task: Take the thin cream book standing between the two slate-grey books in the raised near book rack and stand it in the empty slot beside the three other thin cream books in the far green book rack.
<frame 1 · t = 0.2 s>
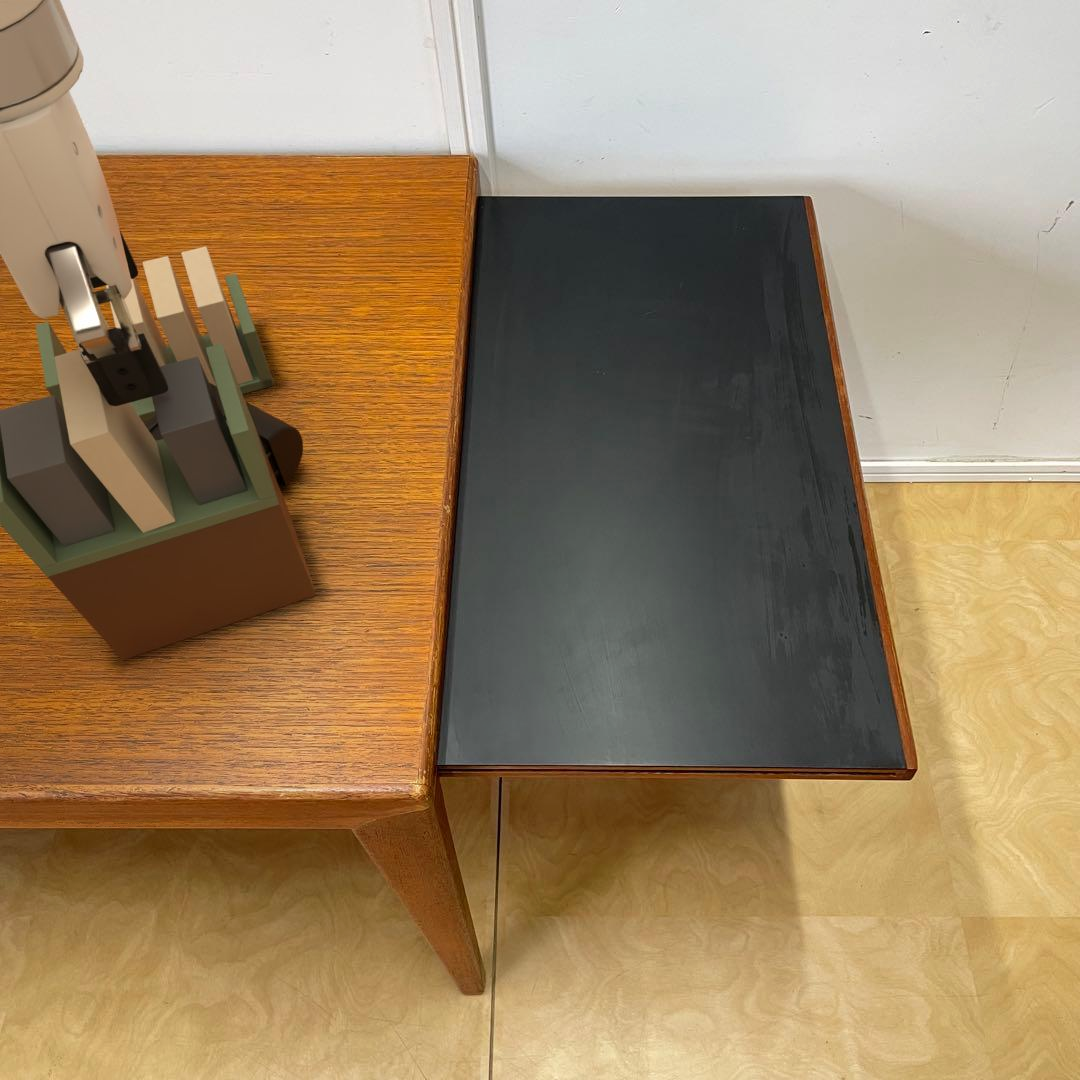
hand: (125, 335, 53), 21 cm above the table, tool pointing down, fingers open, 9 cm apart
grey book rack: (211, 587, 68), on the table
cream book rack: (172, 382, 78), on the table
cream book: (150, 486, 57), point 13 cm above the table, touching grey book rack
end cap: (236, 470, 74), on the table
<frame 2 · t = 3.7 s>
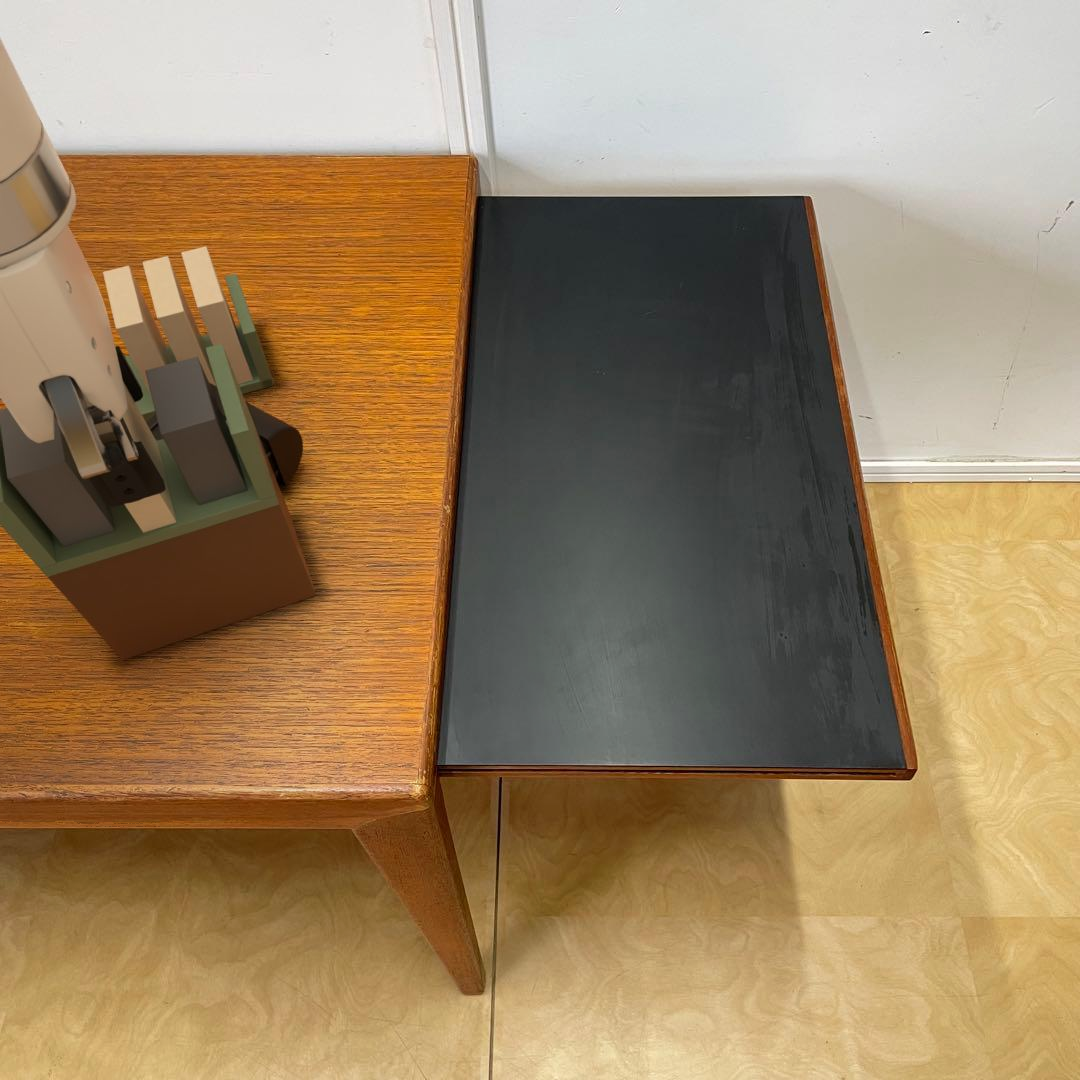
hand: (126, 446, 53), 17 cm above the table, tool pointing down, fingers closed on cream book, 6 cm apart
cream book: (150, 486, 57), point 13 cm above the table, touching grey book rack, gripper
everything else where it was.
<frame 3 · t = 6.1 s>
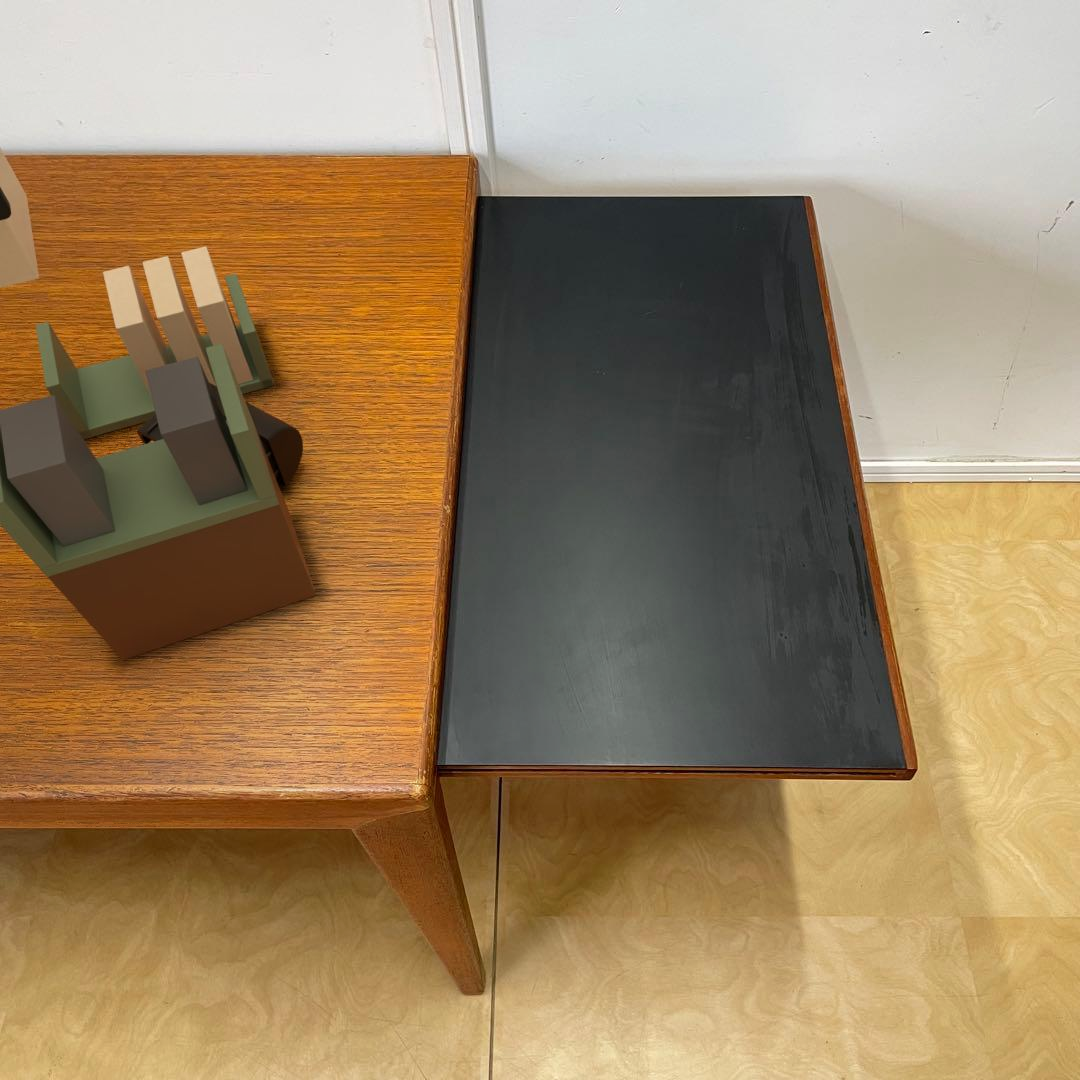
cream book: (12, 240, 45), point 29 cm above the table, touching gripper
everything else where it was.
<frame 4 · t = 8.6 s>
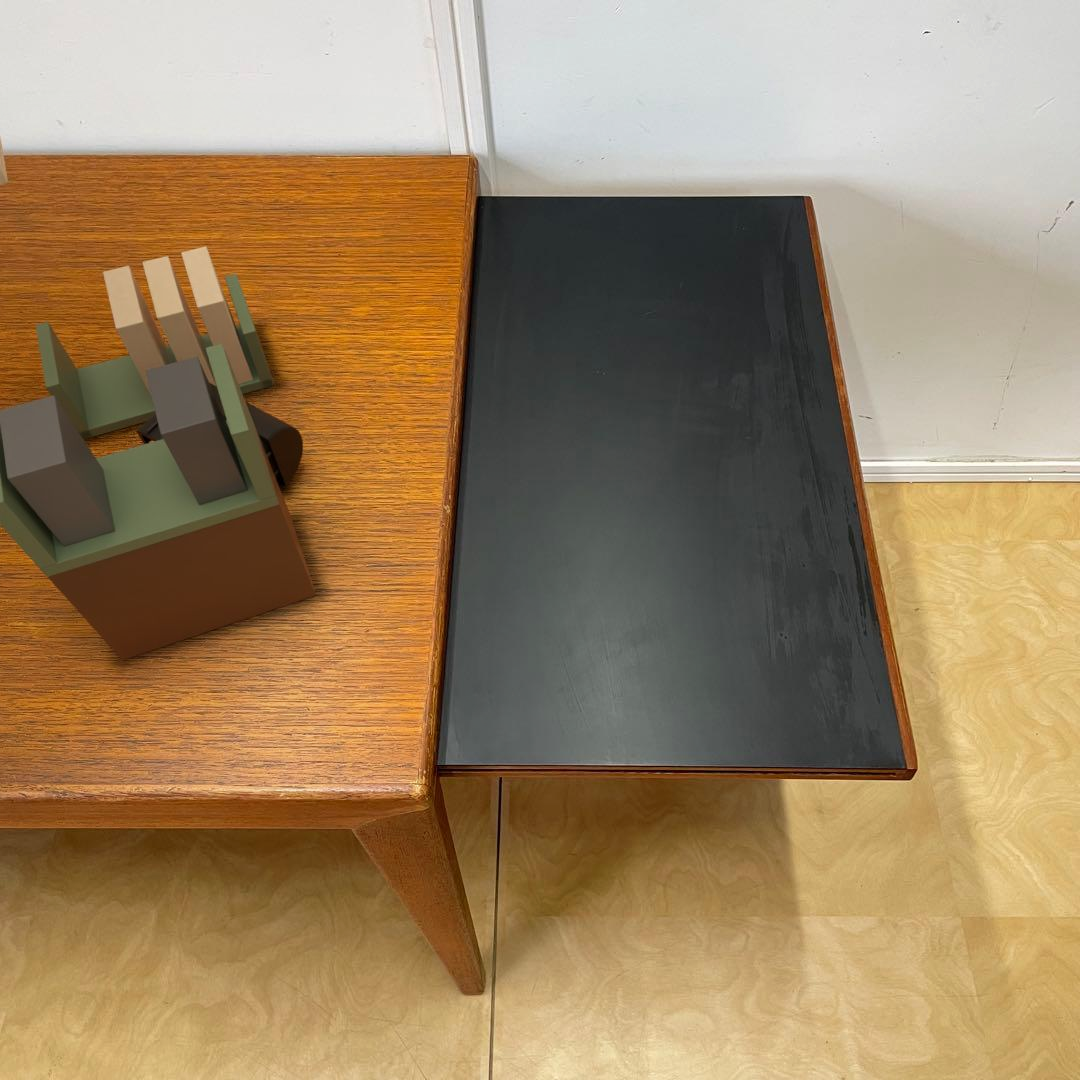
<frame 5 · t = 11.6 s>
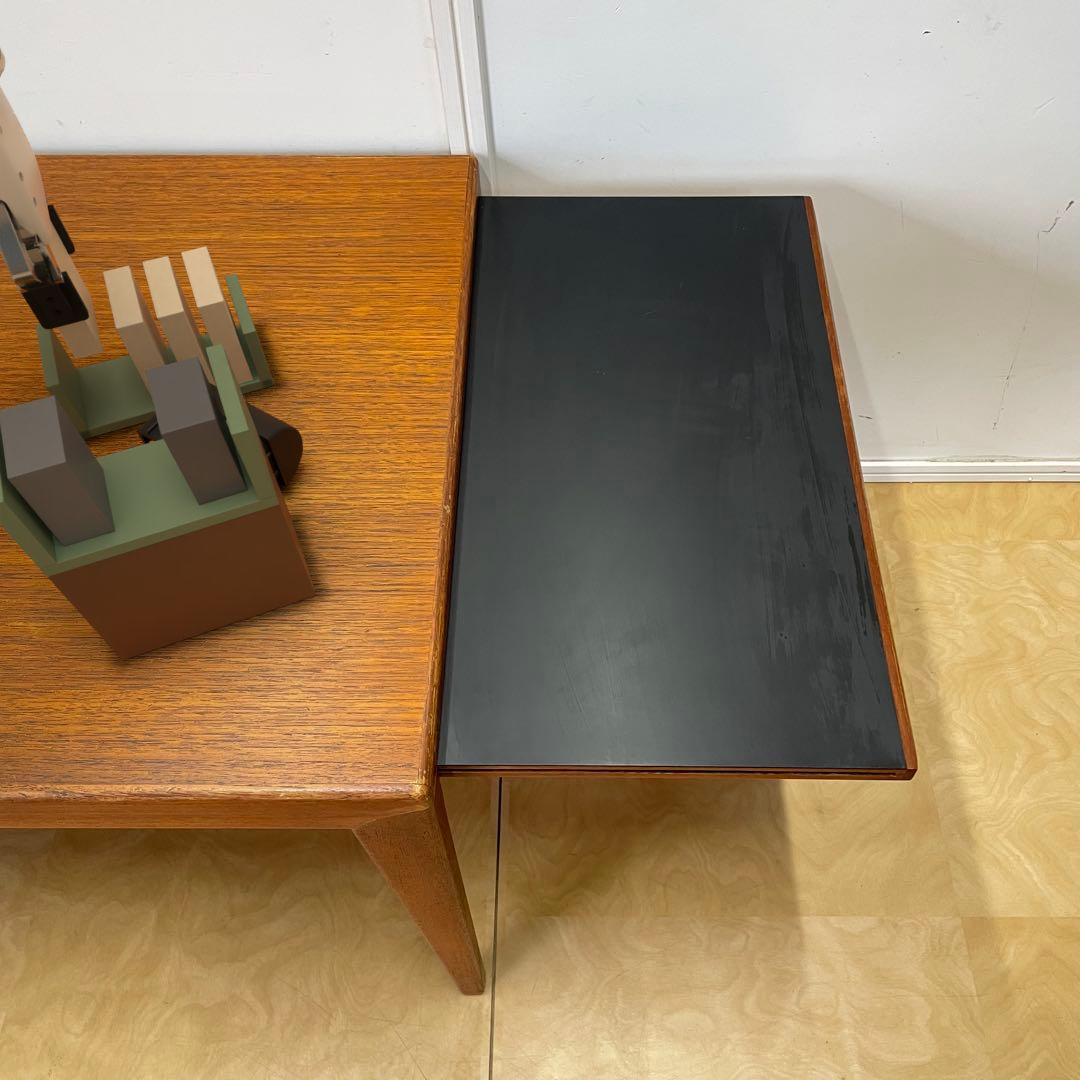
hand: (59, 286, 67), 12 cm above the table, tool pointing down, fingers closed on cream book, 6 cm apart
cream book: (83, 326, 70), point 8 cm above the table, touching gripper
everything else where it was.
when the fingers open (5 cm above the table, at t = 13.7 s): cream book stays where it is, resting on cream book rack.
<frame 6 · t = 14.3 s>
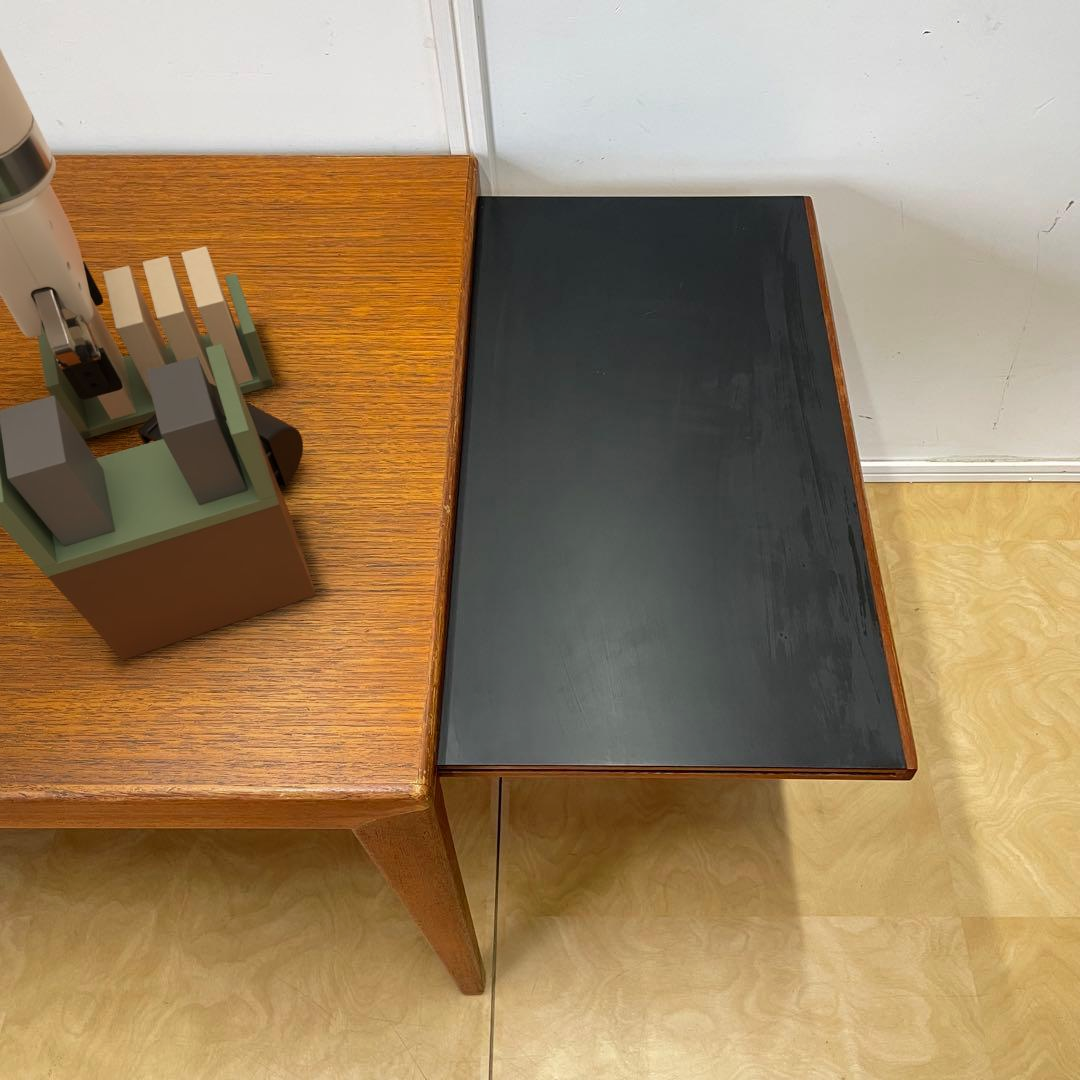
hand: (92, 347, 72), 6 cm above the table, tool pointing down, fingers open, 9 cm apart
cream book: (117, 388, 76), point 1 cm above the table, touching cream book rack
everything else where it was.
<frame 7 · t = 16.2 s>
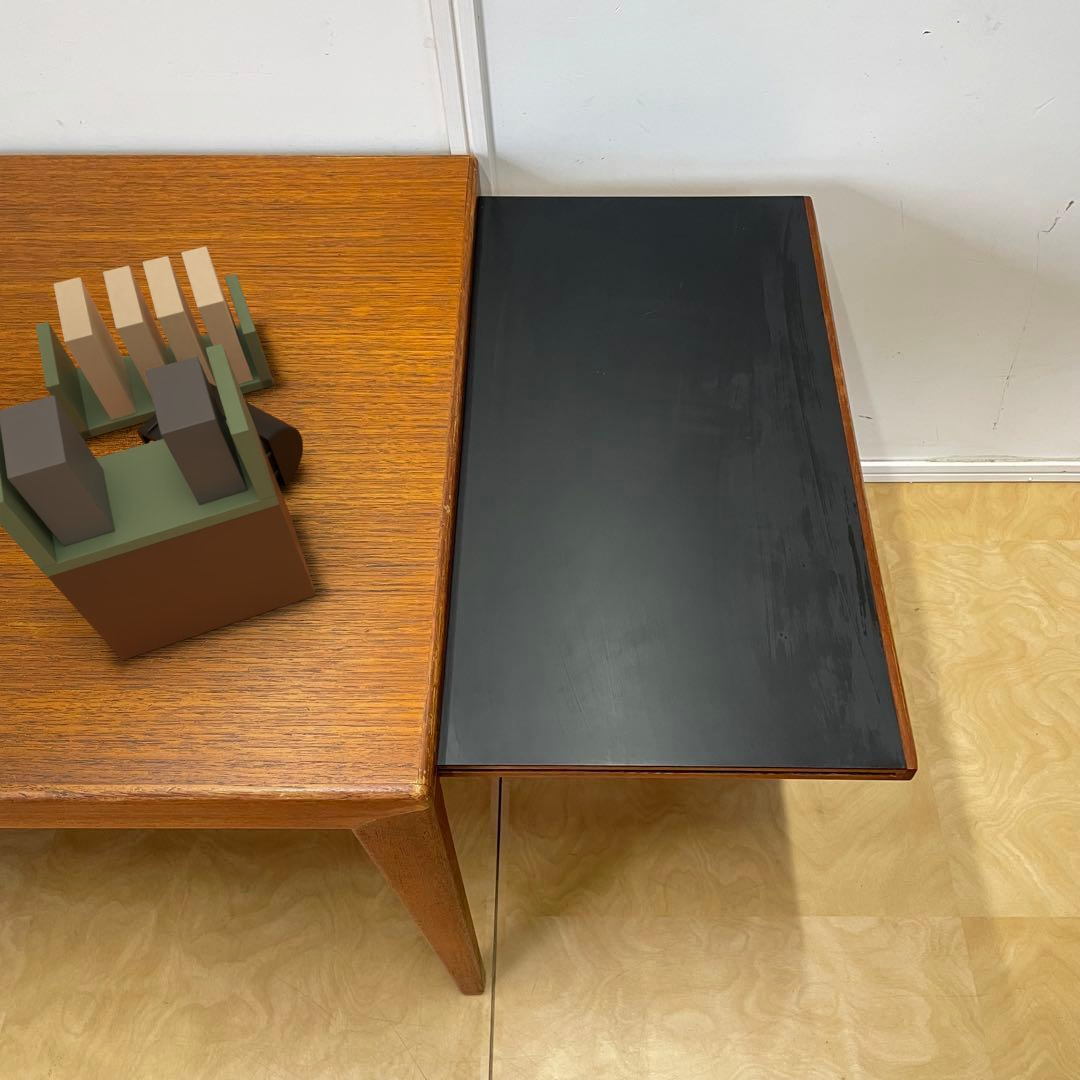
nothing on the table moved.
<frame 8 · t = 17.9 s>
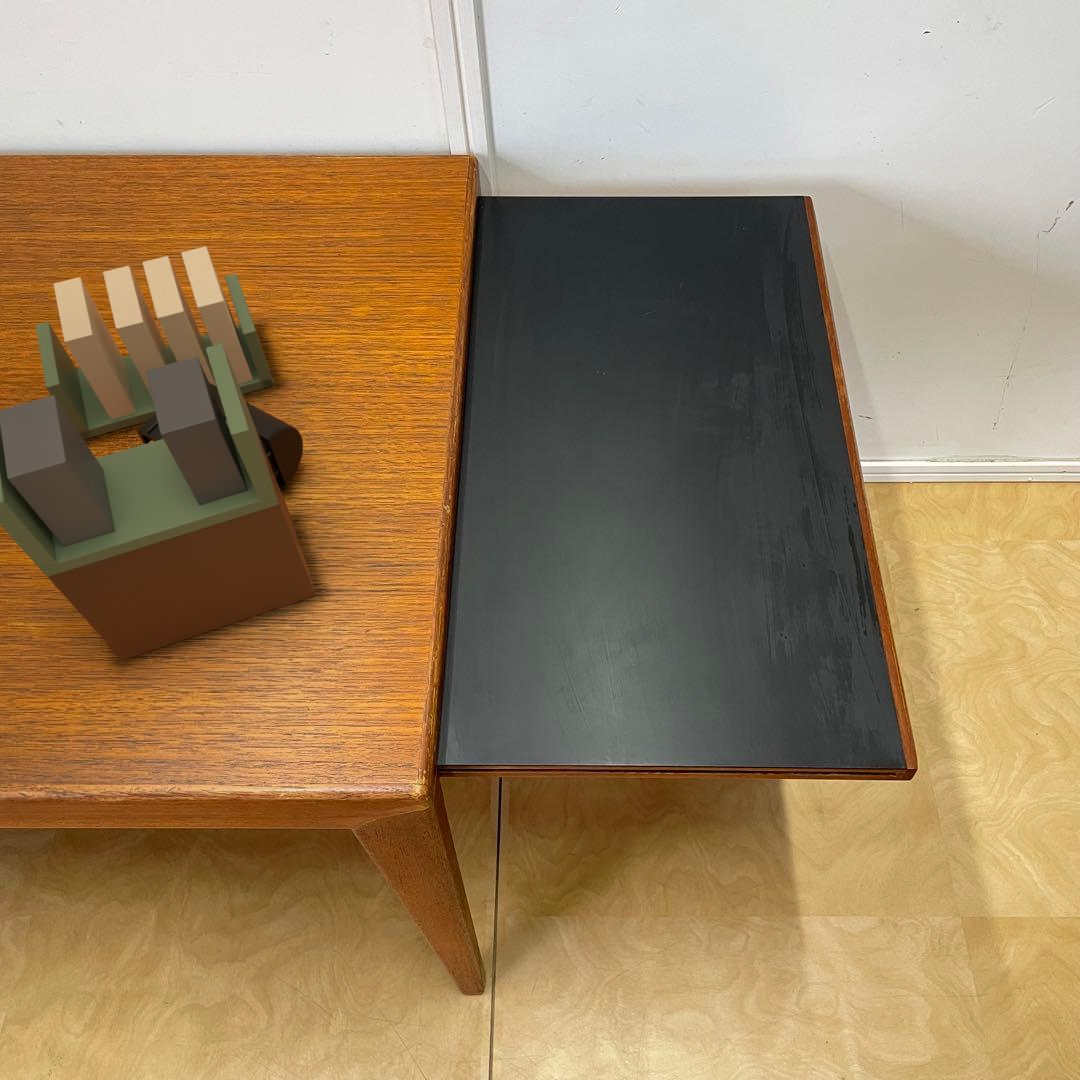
nothing on the table moved.
at the end: cream book 0.0 cm from the target spot on the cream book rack, point 1.0 cm above the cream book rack's base; cream book tilted 0° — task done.
